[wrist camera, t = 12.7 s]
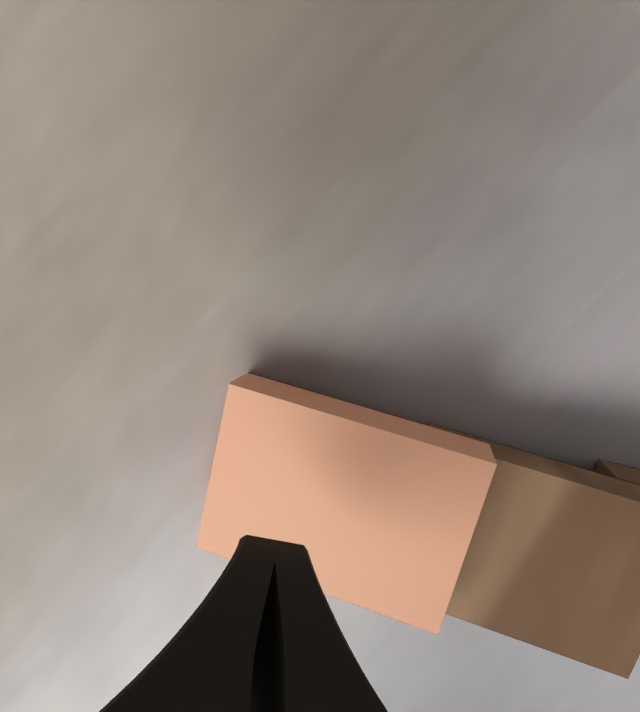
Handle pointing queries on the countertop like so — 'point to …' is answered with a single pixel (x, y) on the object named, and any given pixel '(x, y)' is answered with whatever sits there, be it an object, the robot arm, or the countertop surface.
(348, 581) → the lead tile
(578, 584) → the tile
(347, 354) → the countertop surface
